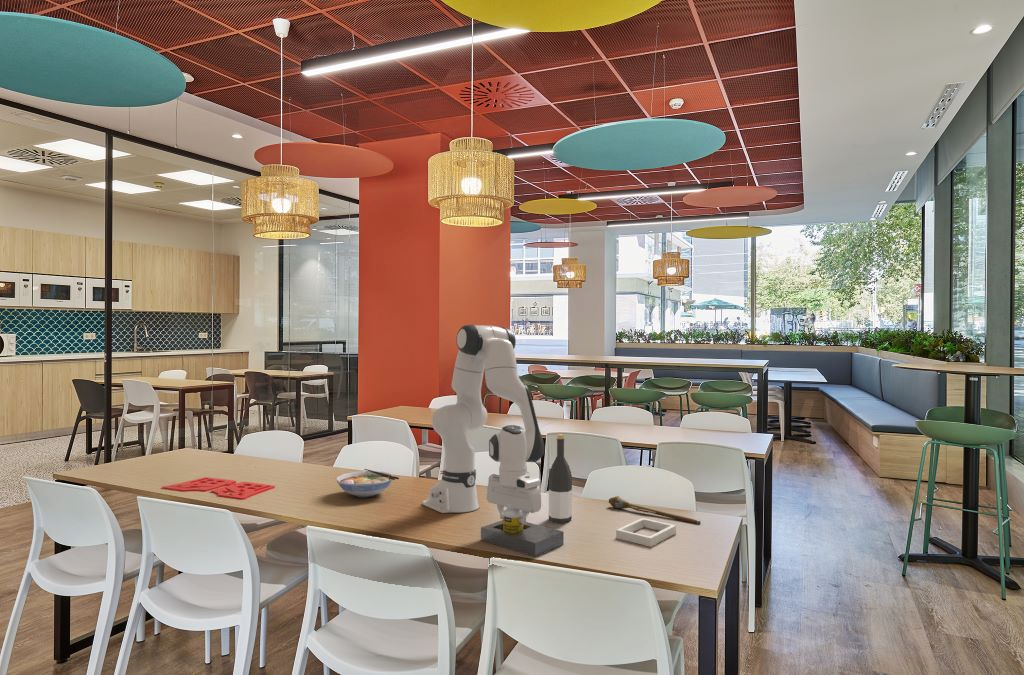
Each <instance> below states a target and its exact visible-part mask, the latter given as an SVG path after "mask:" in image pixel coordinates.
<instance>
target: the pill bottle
mask: <svg viewBox="0 0 1024 675" xmlns="http://www.w3.org/2000/svg"><path fill="white" fill-rule="evenodd" d="M505 508H506V509H504V513H503V519H502V520H503V530H504V531H507V532H511V533H516V532H519V531H521V530H523V525H522V524H519V518H521V517H522V515H523V514H522V511H521V510H518V509H514V508H512V505H510V504H507V506H506V507H505Z"/></svg>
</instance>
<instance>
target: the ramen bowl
mask: <svg viewBox="0 0 1024 675" xmlns="http://www.w3.org/2000/svg"><path fill="white" fill-rule="evenodd" d="M335 480H336V482H337V484H338V486H339V488H341V489H342V490H343V491H344V492H345V493H346V494H349V495H352V496H355V497H356V498H370V497H374V496H376V495H378V494H380V493H382V492H384V491H385V490H386V489H388V488H389V486H390V485H391V484H392V481H396V480H400V477H398V476H396V475H394V474H393V473H391V472H388V471H387V472H386V471H378V470H371V469H367V468H364V469H363V471H353V472H347V473H343V474H341V475H338V476H336V479H335Z"/></svg>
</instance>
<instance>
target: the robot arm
mask: <svg viewBox="0 0 1024 675" xmlns="http://www.w3.org/2000/svg"><path fill="white" fill-rule="evenodd" d="M455 341H456V346H457V348H458V352H457V355H456V359H455V363H454V368H453V375H452V380H451V388H452V390H453V391H454V392H455V393H456V399H457V400H456V404H455V403H454V404H447V405H444V406H442V407H440V408H437V409H436V410H435V411H433V414H432V415H431V426H432V428H433V430H434V431H435V433H437V434H438V435H439V437H440V438H441V440H442V444H443V447H444V461H445V464H444V465H445V466H444V470H440V471H439V472H440V473H439V474H440V475H442V476H441V479H440V480H439V481H438V482H436V483H435V484H434V485H433V486H431V488H430V489H429V492H428V498H426V499H425V500H423V501H422V503H421V504H422V505H423V506H425V507H427V508H430V509H432V510H434V511H436V512H439V513H442V514H444V513H445V514H446V513H447V514H449V513H469V512H473V511H476V510H478V509H479V508H480V506H479V499H478V493H477V485H476V480H477V470H476V468H475V465H476V464H475V462H476V457H475V456H476V451H475V448H474V446H473V445H471V444H470V442H469V440H468V437H467V436H468V435H467V433H469V432H473V431H476V430H478V429H481V428H482V427H484V426H485V425H486V423H487V422H488V416H489V415H488V410H487V408H486V407H485V406H484V405H483V400H482V387H483V378H485V384H486V387H487V389H488V390H489V391H490V392H491V393H492V394H493V395H495V396H497V397H499V398H501V399H505V400H507V401H510V402H512V403H514V404H515V405H516V406H517V407H518V408H519V410H520V413H521V417H522V418H521V419H522V422H523V426H524V428H523V427H522V426H519V425H514V424H513V425H505V426H503V427H502V428H501V429H500V432H498V433H496V434H493V435H492V437H490V439H489V440H488V456H489V457H490V458H491V459H492V460H493V461H494V462H496V463H497V462H498V463H500V464H499V466H498V467H499V469H498V473H499V474H496V473H492V474H490V475H489V477H488V480H487V481H488V483H487V488H486V489H487V490H486V500H487V502H488V503H489V504H494V505H497V506H496V508H497V510H498V513H499V518H500V519H501V520H503V513H504V511H505V508H506V506H507V504H510V505H512V508H514V509H518V510H521V511H522V514H523V515H522V517H521V518H519V524H522V525H524V524H526V522H527V518H528V516H529V514H535V513H537V512H540V510H541V509H542V493H541V489H540V487H539V486H540V485H541V479H540V478H538V477H536V476H535V475H533V474H531V472H529V471H528V467H527V463H537V462H538V461H539V460H540V459H541V458H542V457H543V456H544V454H545V443H544V439H543V436H542V433H541V430H540V427H539V422H538V418H537V415H536V411H535V406H534V403H533V400H532V395H531V393H530V390H529V387H528V385H526V384H524V383H523V382H522V380H521V378H520V376H519V375H518V367H517V366H518V364H517V358H516V354H515V349H516V348H515V347H516V342H517V340H516V336H515V333H514V332H513V330H511V329H510V328H507V327H500V326H496V325H490V324H487V325H485V324H484V325H481V324H480V325H478V324H476V325H475V324H466V325H462V326H461V327H460V328H459V330H458V331H457V335H456V339H455Z"/></svg>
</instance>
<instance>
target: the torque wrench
mask: <svg viewBox="0 0 1024 675" xmlns="http://www.w3.org/2000/svg"><path fill="white" fill-rule="evenodd" d="M608 503H609V504H610V506H612V508H614V509H631V510H634V511H638V512H642V513H648V514H654V515H657V516H661V517H665V518H669V519H674V520H678V521H682V522H685V523H690V524H694V525H699V526H700V524H701V520H698V519H695V518H691V517H686V516H683V515H678V514H675V513H670V512H667V511H662V510H657V509H653V508H649V507H645V506H642V505H639V504H638V505H637V504H633V503H629V501H627V500H625V499H623V498H622V497H620V495H615V496H613V497H610V498H609V499H608Z"/></svg>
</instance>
